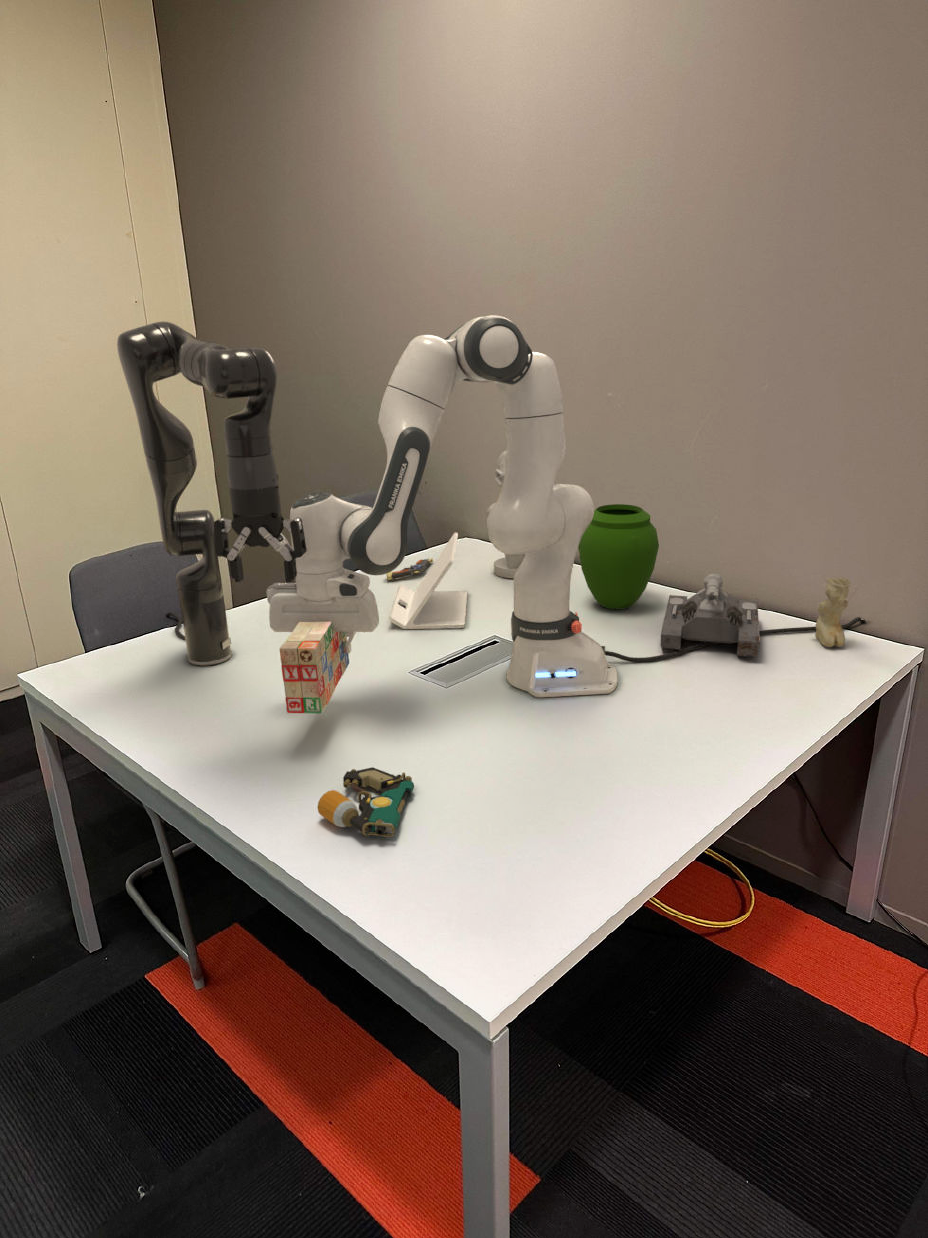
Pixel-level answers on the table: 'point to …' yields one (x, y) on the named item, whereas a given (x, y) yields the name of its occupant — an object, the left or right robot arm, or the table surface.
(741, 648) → the toy
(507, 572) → the bust sculpture
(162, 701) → the table surface
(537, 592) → the right robot arm
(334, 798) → the spray gun
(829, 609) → the sculpture
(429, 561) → the toy gun
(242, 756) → the table surface
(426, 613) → the tablet stand
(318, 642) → the stack of blocks
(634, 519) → the vase
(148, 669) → the table surface
